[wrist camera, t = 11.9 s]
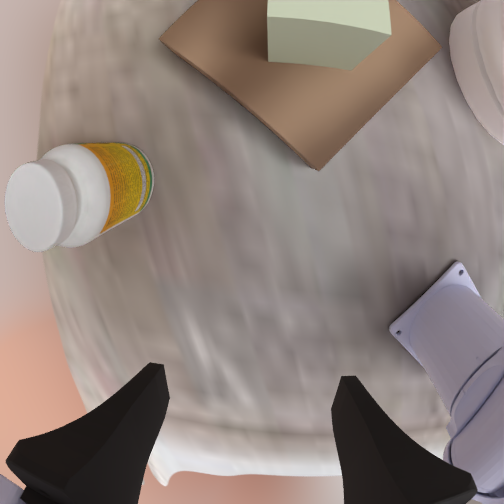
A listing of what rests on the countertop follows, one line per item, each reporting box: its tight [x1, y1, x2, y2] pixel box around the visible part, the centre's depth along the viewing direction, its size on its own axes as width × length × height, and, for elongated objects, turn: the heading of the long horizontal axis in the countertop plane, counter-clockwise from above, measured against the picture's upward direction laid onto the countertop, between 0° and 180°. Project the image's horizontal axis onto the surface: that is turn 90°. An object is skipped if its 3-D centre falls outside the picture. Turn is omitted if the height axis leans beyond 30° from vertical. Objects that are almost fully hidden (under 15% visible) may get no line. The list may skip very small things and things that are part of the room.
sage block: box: [267, 0, 392, 71], centre depth 10 cm, size 4×4×6 cm
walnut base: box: [159, 0, 442, 171], centre depth 14 cm, size 12×12×3 cm
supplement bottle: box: [4, 143, 154, 252], centre depth 15 cm, size 5×5×10 cm
